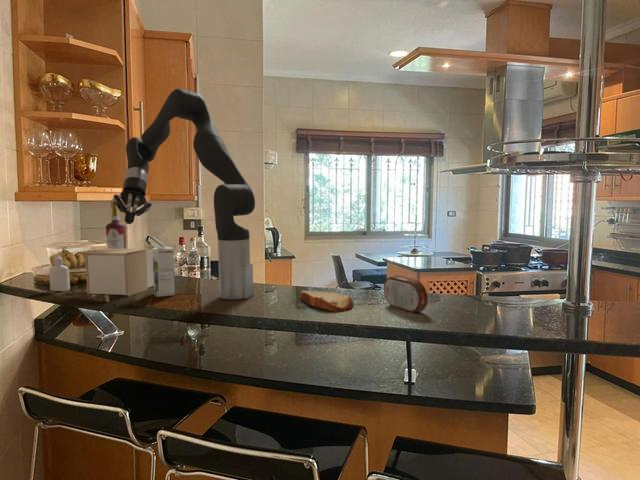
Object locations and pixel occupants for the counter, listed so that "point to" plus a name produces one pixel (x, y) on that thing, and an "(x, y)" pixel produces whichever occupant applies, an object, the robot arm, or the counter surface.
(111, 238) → the liquor
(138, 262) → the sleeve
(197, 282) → the counter surface
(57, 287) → the eye dropper bottle
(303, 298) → the slice of bread
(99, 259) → the plain white carton
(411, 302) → the tin
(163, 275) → the syrup box
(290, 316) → the counter surface
